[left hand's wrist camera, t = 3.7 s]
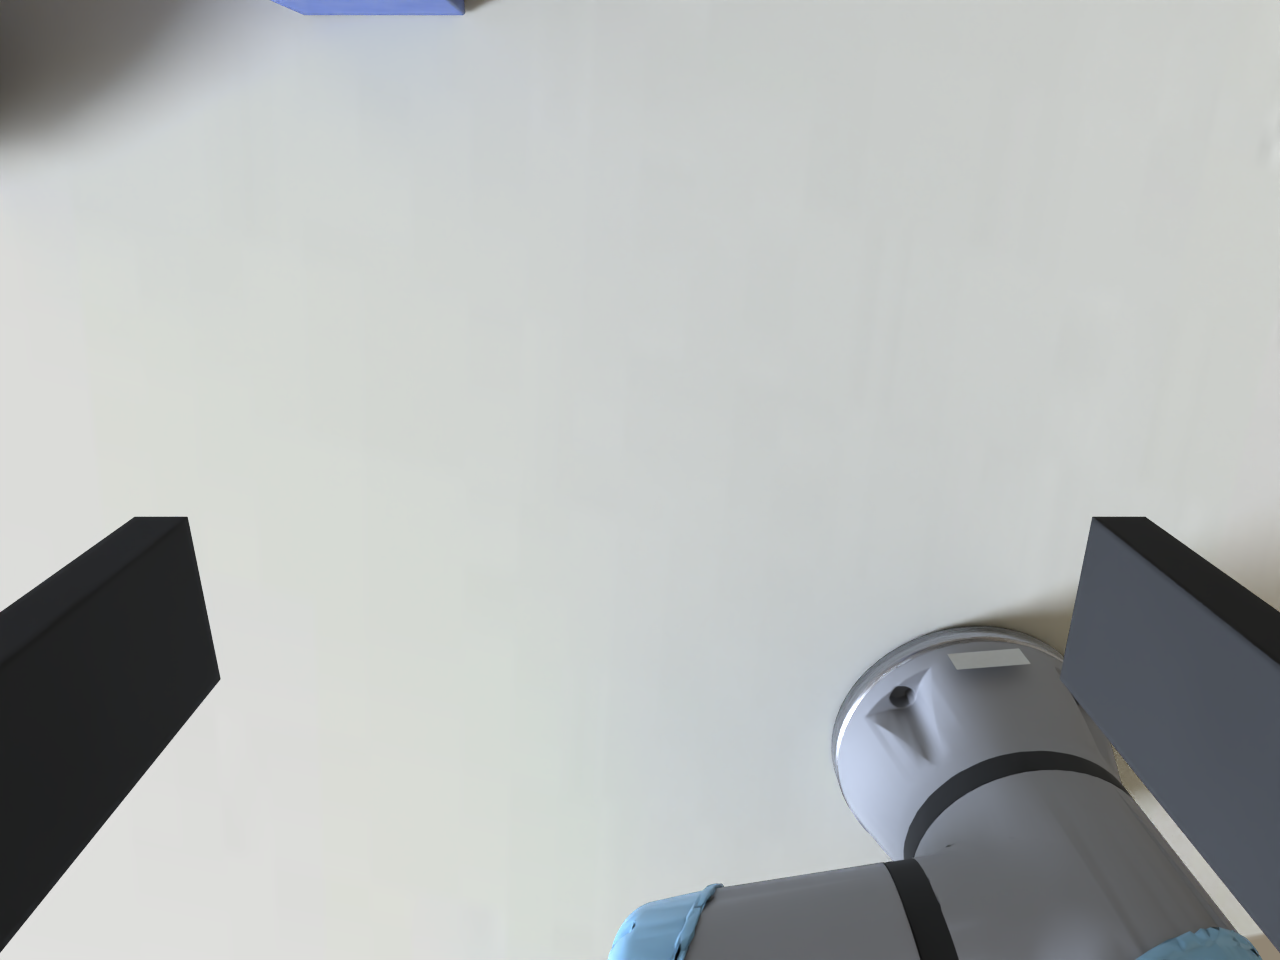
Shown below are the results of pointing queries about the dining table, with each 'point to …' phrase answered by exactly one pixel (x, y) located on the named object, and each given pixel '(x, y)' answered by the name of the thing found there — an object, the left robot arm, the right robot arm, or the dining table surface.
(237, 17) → the dining table surface
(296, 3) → the box
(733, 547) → the dining table surface
